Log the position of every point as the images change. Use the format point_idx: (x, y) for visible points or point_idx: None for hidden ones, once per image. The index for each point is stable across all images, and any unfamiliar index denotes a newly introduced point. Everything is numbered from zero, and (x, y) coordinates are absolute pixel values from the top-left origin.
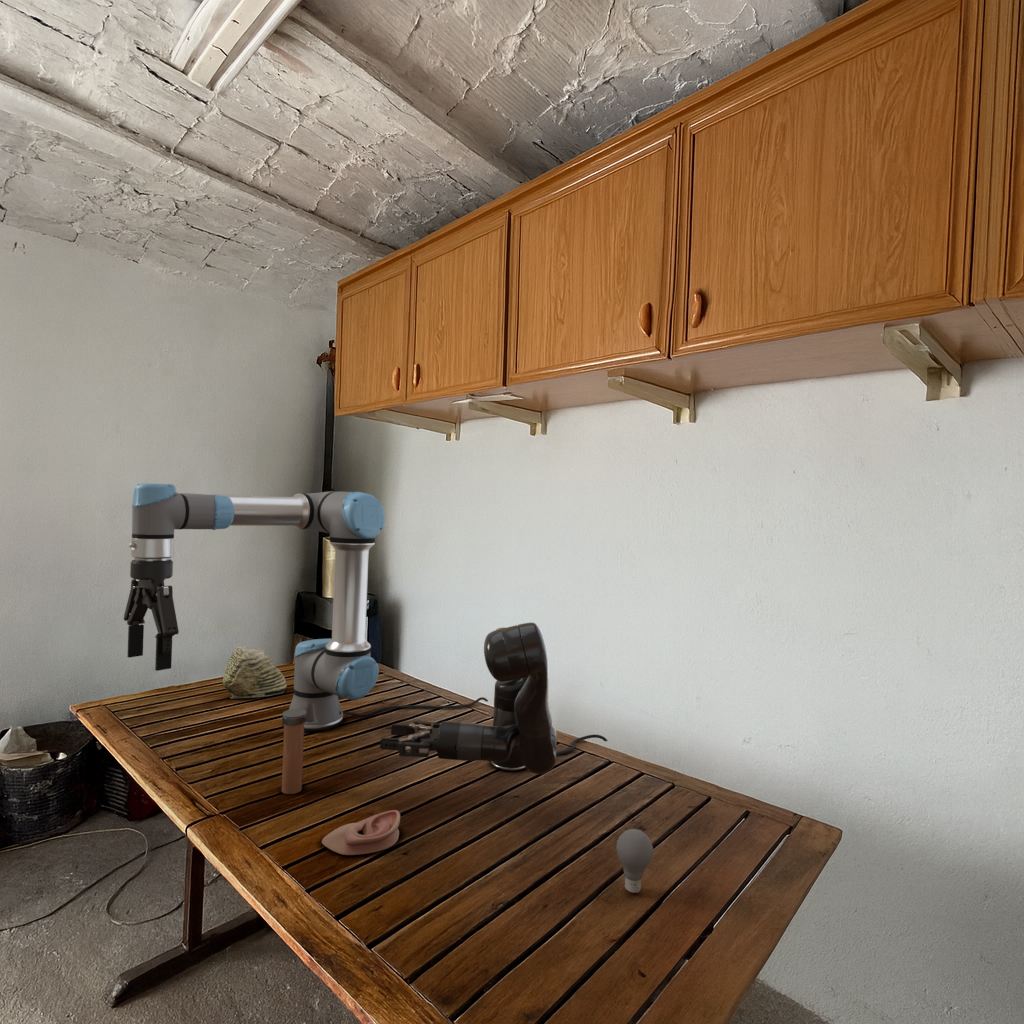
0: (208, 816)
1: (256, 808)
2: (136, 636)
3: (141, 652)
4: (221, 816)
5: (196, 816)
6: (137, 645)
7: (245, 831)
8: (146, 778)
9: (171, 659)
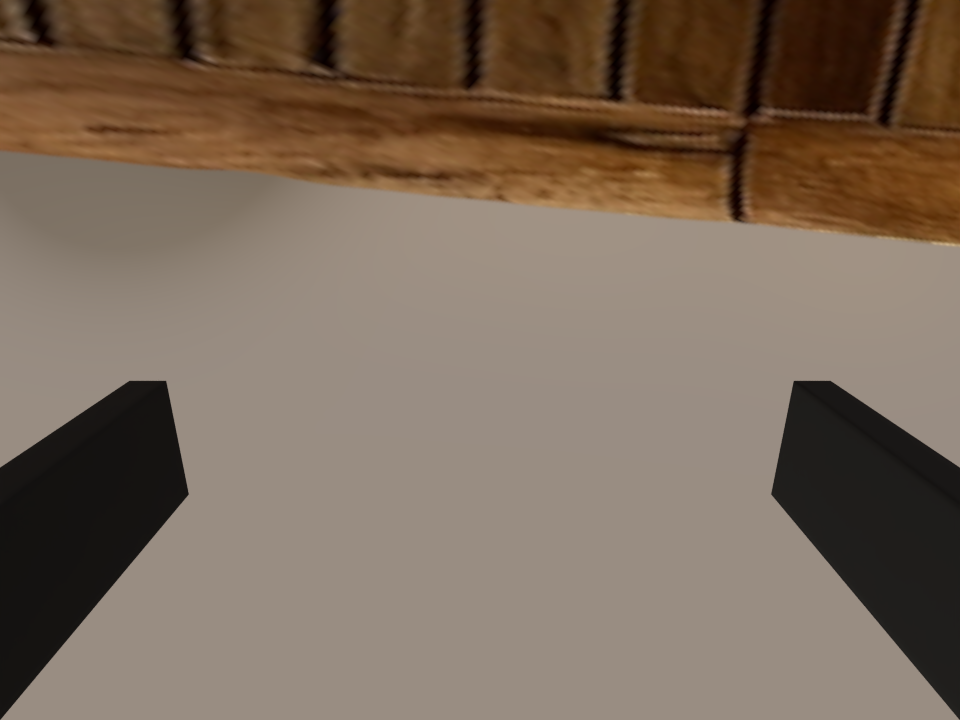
0: (736, 153)
1: (819, 9)
2: (33, 578)
3: (149, 407)
4: (768, 124)
5: (706, 179)
6: (111, 490)
7: (906, 118)
8: (334, 176)
9: (885, 418)
